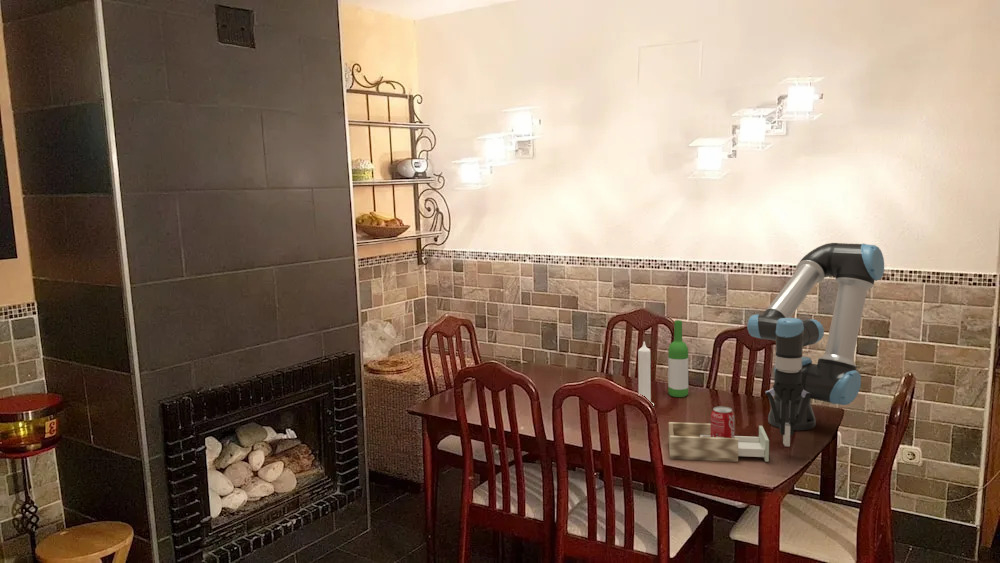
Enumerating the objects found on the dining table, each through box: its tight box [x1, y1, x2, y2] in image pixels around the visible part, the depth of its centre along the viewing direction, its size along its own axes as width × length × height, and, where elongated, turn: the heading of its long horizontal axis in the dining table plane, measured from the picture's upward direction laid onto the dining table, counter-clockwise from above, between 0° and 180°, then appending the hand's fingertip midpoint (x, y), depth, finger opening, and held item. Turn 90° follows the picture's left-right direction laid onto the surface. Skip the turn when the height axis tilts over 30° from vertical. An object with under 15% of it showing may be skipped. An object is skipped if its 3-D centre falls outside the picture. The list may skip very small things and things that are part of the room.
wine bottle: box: [667, 319, 689, 398], centre depth 281 cm, size 8×8×30 cm
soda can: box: [710, 405, 735, 438], centre depth 221 cm, size 7×7×12 cm
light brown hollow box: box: [668, 421, 739, 463], centre depth 223 cm, size 20×14×7 cm
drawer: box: [700, 425, 770, 463], centre depth 221 cm, size 19×13×7 cm
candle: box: [637, 341, 655, 407], centre depth 269 cm, size 7×7×25 cm
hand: (786, 444), depth 217 cm, fingers closed
